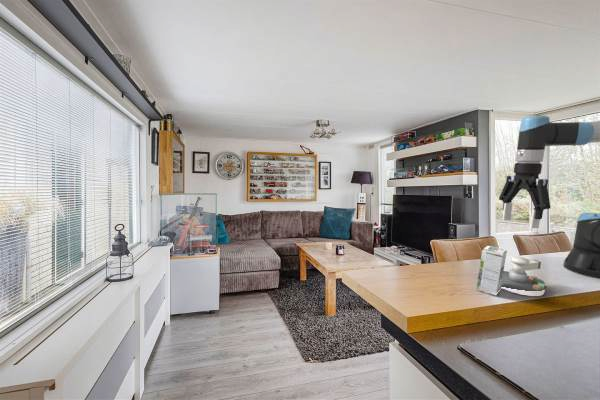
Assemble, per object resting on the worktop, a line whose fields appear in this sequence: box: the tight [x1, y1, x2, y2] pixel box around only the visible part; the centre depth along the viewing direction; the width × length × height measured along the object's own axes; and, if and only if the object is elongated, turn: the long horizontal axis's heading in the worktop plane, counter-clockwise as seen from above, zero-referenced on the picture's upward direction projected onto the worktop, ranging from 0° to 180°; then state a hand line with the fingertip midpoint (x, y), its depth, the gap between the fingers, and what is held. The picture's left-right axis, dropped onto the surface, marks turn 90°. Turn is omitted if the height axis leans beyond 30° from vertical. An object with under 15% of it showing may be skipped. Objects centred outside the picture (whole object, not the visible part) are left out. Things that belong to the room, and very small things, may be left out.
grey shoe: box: [501, 269, 547, 291], centre depth 96 cm, size 15×15×5 cm
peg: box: [510, 256, 542, 274], centre depth 96 cm, size 11×5×4 cm, turn 106°
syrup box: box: [475, 245, 508, 293], centre depth 91 cm, size 6×6×14 cm
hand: (519, 223), depth 101 cm, fingers open, 11 cm apart
